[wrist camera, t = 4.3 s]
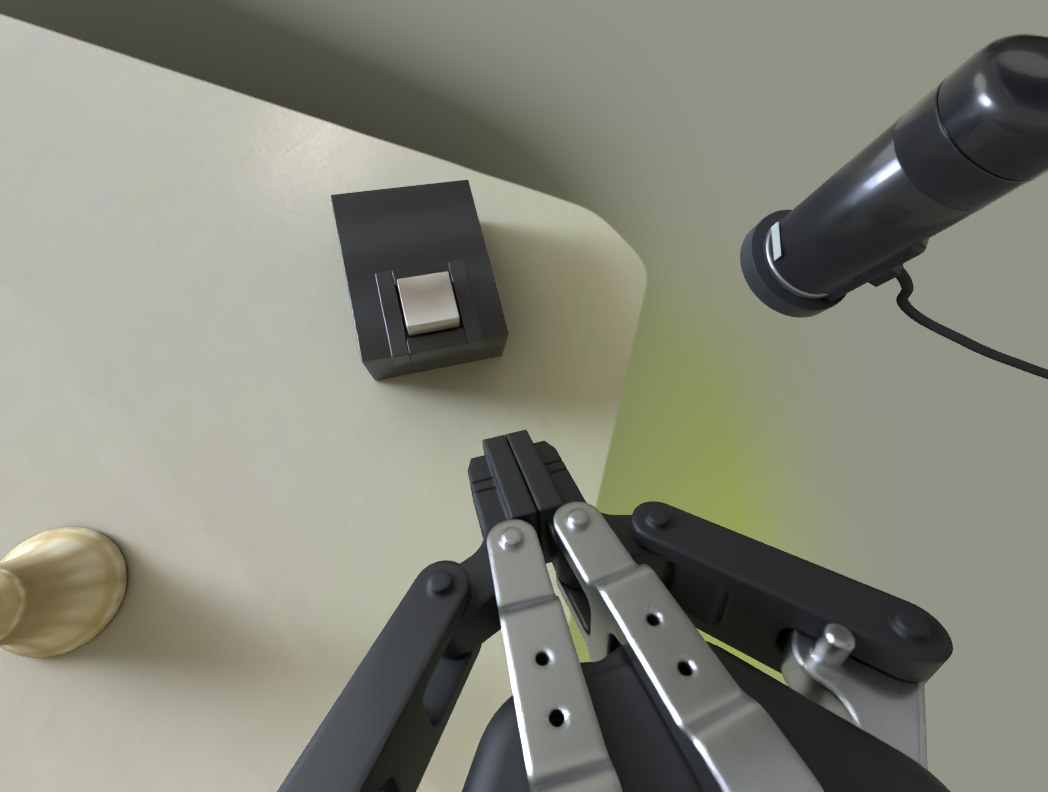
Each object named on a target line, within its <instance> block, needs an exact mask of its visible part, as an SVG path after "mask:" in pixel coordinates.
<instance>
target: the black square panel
mask: <svg viewBox="0 0 1048 792" xmlns="http://www.w3.org/2000/svg"><path fill="white" fill-rule="evenodd" d="M331 201H332V206H333V212H334V217H335V222H336V227H337V233H338V238H339V243H340V249H341V254H342V259H343V265H344V270H345V275H346V280H347V286H348V291H349V296H350V302H351V307H352V312H353V317H354V323H355V328H356V333H357V339H358V344H359V349H360V355H361V360H362V362H363V364H364V365H365V367H366V368H367V370H368V371H369V373H370V374H371V375H372V377H373V378H374V380H375V381H376V380H381V379H386V378H391V377H396V376H401V375H406V374H411V373H416V372H421V371H426V370H431V369H437V368H442V367H447V366H452V365H457V364H462V363H467V362H472V361H477V360H482V359H487V358H492V357H497V356H502V353H503V350H504V346H505V343H506V340H507V337H508V330H507V327H506V323H505V319H504V315H503V311H502V308H501V304H500V300H499V296H498V292H497V288H496V285H495V281H494V277H493V273H492V269H491V265H490V262H489V258H488V254H487V250H486V246H485V243H484V239H483V235H482V231H481V227H480V223H479V220H478V216H477V212H476V208H475V204H474V200H473V197H472V193H471V189H470V185H469V181H468V180H462V181H453V182H444V183H435V184H426V185H417V186H408V187H399V188H390V189H381V190H372V191H363V192H354V193H346V194H337V195H331ZM447 271H448V272H449V276H450V280H451V284H452V288H453V292H454V297H455V301H456V305H457V309H458V313H459V327H457V328H451V329H445V330H440V331H434V332H429V333H423V334H418V335H412V336H410V335H409V333H408V329H407V326H406V321H405V316H404V311H403V307H402V302H401V297H400V293H399V288H398V283H397V279H402V278H408V277H415V276H421V275H428V274H434V273H441V272H447Z"/></svg>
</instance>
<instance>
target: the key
mask: <svg viewBox="0 0 1048 792" xmlns="http://www.w3.org/2000/svg"><path fill="white" fill-rule="evenodd" d="M397 283H398V288H399V293H400V297H401V302H402V307H403V311H404V316H405V321H406V326H407V329H408V333H409V335H410V336H412V335H418V334H423V333H429V332H434V331H440V330H445V329H451V328H457V327H459V313H458V309H457V305H456V301H455V297H454V292H453V288H452V284H451V280H450V276H449V272H448V271H447V272H441V273H434V274H428V275H421V276H415V277H408V278H402V279H397Z"/></svg>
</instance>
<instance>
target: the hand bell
mask: <svg viewBox="0 0 1048 792" xmlns="http://www.w3.org/2000/svg"><path fill="white" fill-rule="evenodd" d="M126 570H127V569H126V564H125V561H124V558H123V556H122V554H121V551H120V550H119V548H118V547H117V546H116V545H115V544H114V542H113V541H111V540H110V539H109V538H108V537H106V536H105V535H103V534H102V533H100V532H97V531H95V530H92V529H88V528H82V527H62V528H56V529H52V530H48V531H45V532H43V533H40V534H38V535H36V536H34V537H32V538H30V539H28V540H26V541H25V542H23V543H22V544H20V545H19V546H17V547H16V548H15V549H13V550H12V551H11V552H10V553H9V554H7V556H6V557H5V558H4V559H3V560H2V561H1V562H0V647H2V648H3V649H4V650H6V651H9V652H11V653H14V654H16V655H21V656H26V657H33V658H43V657H52V656H57V655H61V654H64V653H67V652H69V651H72V650H74V649H76V648H78V647H80V646H82V645H84V644H85V643H87V642H89V641H90V640H91V639H93V638H94V637H95V636H96V635H98V634H99V633H100V632H101V631H102V630H103V629H104V628H105V627H106V626H107V624H108V623H109V622H110V621H111V619H112V618H113V617H114V615H115V614H116V612H117V611H118V609H119V607H120V604H121V602H122V600H123V598H124V595H125V590H126V584H127V574H126Z"/></svg>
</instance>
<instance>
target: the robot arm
mask: <svg viewBox="0 0 1048 792" xmlns="http://www.w3.org/2000/svg"><path fill="white" fill-rule="evenodd" d="M1047 172H1048V36H1042V35H1035V34H1016V35H1010V36H1005V37H1002V38H999V39H997V40H995V41H992V42H991V43H989V44H987V45H986V46H984V47H983V48H981V49H980V50H978V51H977V52H976V53H974V54H973V55H972V56H971V57H969V58H968V59H967V60H966V61H965V62H964V63H962V64H961V65H960V66H959V67H958V68H957V69H956V70H954V71H953V72H952V73H951V74H950V75H949V76H948V77H946V78H945V79H944V80H943V81H942V82H940V83H939V84H938V85H937V86H936V87H935V88H934V89H932V90H931V91H930V92H929V93H928V94H927V95H925V96H924V97H923V98H922V99H921V100H920V101H919V102H917V103H916V104H915V105H914V106H913V107H911V108H910V109H909V110H908V111H907V112H906V113H905V114H903V115H902V116H901V117H900V118H899V119H898V120H896V121H895V122H894V123H893V124H892V125H891V126H890V127H888V128H887V129H886V130H885V131H884V132H883V133H881V134H880V135H879V136H878V137H877V138H876V139H874V140H873V141H872V142H871V143H870V144H869V145H868V146H866V147H865V148H864V149H863V150H862V151H861V152H860V153H858V154H857V155H856V156H855V157H854V158H852V159H851V160H850V161H849V162H848V163H847V164H845V165H844V166H843V167H842V168H841V169H840V170H839V171H837V172H836V173H835V174H834V175H833V176H832V177H830V178H829V179H828V180H827V181H826V182H825V183H823V184H822V185H821V186H820V187H819V188H818V189H817V190H815V191H814V192H813V193H812V194H811V195H810V196H808V197H807V198H806V199H805V200H804V201H803V202H801V203H800V204H799V205H798V206H797V207H796V208H794V209H793V210H792V211H791V212H789V213H788V214H787V215H786V216H785V217H783V218H782V219H781V220H779V221H778V222H777V223H776V224H775V225H773V226H772V227H771V228H770V229H769V231H768V232H767V234H766V236H765V238H764V242H763V256H764V260H765V264H766V266H767V268H768V270H769V272H770V274H771V275H772V276H773V278H774V279H775V280H776V281H777V282H778V283H779V284H780V285H781V286H782V287H783V288H784V289H786V290H787V291H789V292H790V293H792V294H794V295H797V296H800V297H803V298H808V299H818V298H825V299H827V300H828V301H833V300H835V299H837V298H839V297H841V296H843V295H844V294H846V293H848V292H850V291H852V290H854V289H856V288H858V287H860V286H861V285H863V284H865V283H867V282H868V283H870V284H872V285H874V286H876V287H877V286H879V285H881V284H883V283H885V282H887V281H889V280H891V279H893V278H895V277H896V278H897V280H898V281H899V283H900V285H901V288H902V290H901V292H900V293H899V294H898V296H897V299H896V300H897V304H898V306H899V307H900V309H901V310H902V311H903V312H904V313H905V314H906V315H907V316H909V317H910V318H911V319H913V320H914V321H915V322H917V323H918V324H920V325H922V326H924V327H926V328H928V329H930V330H931V331H933V332H935V333H938V334H939V335H942V336H944V337H946V338H948V339H950V340H952V341H954V342H956V343H958V344H960V345H962V346H964V347H966V348H968V349H970V350H972V351H974V352H977V353H979V354H981V355H983V356H986V357H988V358H991V359H993V360H996V361H999V362H1002V363H1005V364H1007V365H1010V366H1013V367H1016V368H1018V369H1021V370H1023V371H1026V372H1029V373H1032V374H1034V375H1037V376H1041V377H1043V378H1046V379H1048V370H1047V369H1044V368H1041V367H1038V366H1036V365H1033V364H1030V363H1028V362H1025V361H1022V360H1020V359H1017V358H1014V357H1011V356H1009V355H1006V354H1003V353H1001V352H998V351H996V350H993V349H991V348H989V347H986V346H984V345H982V344H980V343H978V342H976V341H974V340H972V339H970V338H968V337H966V336H964V335H962V334H960V333H957V332H955V331H953V330H951V329H949V328H947V327H945V326H943V325H941V324H939V323H937V322H935V321H933V320H931V319H929V318H928V317H926V316H925V315H923V314H922V313H920V312H919V311H918V310H916V309H915V308H914V307H913V306H912V305H911V304H910V302H909V301H908V298H909V296H910V295H911V294H912V292H913V283H912V280H911V277H910V276H909V274H908V273H907V271H906V270H905V269H904V268H903V263H905V262H907V261H909V260H911V259H912V258H914V257H916V256H918V255H920V254H921V253H923V252H924V251H925V249H926V247H927V244H928V240H929V238H930V237H932V236H934V235H936V234H938V233H939V232H941V231H943V230H945V229H947V228H948V227H950V226H952V225H954V224H955V223H957V222H959V221H961V220H963V219H964V218H966V217H968V216H970V215H972V214H974V213H975V212H977V211H979V210H981V209H983V208H984V207H986V206H988V205H990V204H991V203H993V202H995V201H997V200H998V199H1000V198H1002V197H1004V196H1006V195H1008V194H1009V193H1011V192H1013V191H1015V190H1017V189H1018V188H1020V187H1022V186H1024V185H1026V184H1027V183H1029V182H1031V181H1033V180H1035V179H1036V178H1038V177H1040V176H1042V175H1044V174H1046V173H1047ZM483 449H484V456H480V457H476V458H472V459H471V461H470V464H469V468H468V475H469V480H470V486H471V491H472V496H473V502H474V506H475V509H476V513H477V517H478V521H479V524H480V528H481V532H482V536H483V542H482V545H481V546H480V548H479V549H478V550H477V552H476V553H475V554H473V555H472V556H471V557H469V558H468V559H466V560H465V561H463V562H462V563H460V564H459V563H456V562H454V561H446V560H445V561H439V562H435V563H433V564H431V565H429V566H427V567H426V568H425V569H424V570H423V571H422V572H421V573H420V574H419V575H418V576H417V578H416V580H415V581H414V583H413V584H412V586H411V587H410V589H409V590H408V592H407V593H406V595H405V596H404V598H403V599H402V601H401V602H400V604H399V606H398V607H397V609H396V610H395V612H394V613H393V615H392V616H391V618H390V619H389V621H388V622H387V624H386V625H385V627H384V629H383V630H382V632H381V633H380V635H379V636H378V638H377V639H376V641H375V642H374V644H373V645H372V647H371V648H370V650H369V651H368V653H367V655H366V656H365V658H364V659H363V661H362V662H361V664H360V665H359V667H358V668H357V670H356V671H355V673H354V674H353V676H352V677H351V679H350V681H349V682H348V684H347V685H346V687H345V688H344V690H343V691H342V693H341V694H340V696H339V697H338V699H337V700H336V702H335V703H334V705H333V707H332V708H331V710H330V711H329V713H328V714H327V716H326V717H325V719H324V720H323V722H322V723H321V725H320V726H319V728H318V730H317V731H316V733H315V734H314V736H313V737H312V739H311V740H310V742H309V743H308V745H307V746H306V748H305V749H304V751H303V752H302V754H301V756H300V757H299V759H298V760H297V762H296V763H295V765H294V766H293V768H292V769H291V771H290V772H289V774H288V775H287V777H286V778H285V780H284V782H283V783H282V785H281V786H280V788H279V789H278V791H277V792H416V790H417V788H418V786H419V784H420V782H421V779H422V777H423V775H424V773H425V771H426V768H427V766H428V764H429V762H430V759H431V757H432V755H433V753H434V751H435V748H436V746H437V744H438V742H439V740H440V737H441V735H442V733H443V731H444V729H445V726H446V724H447V722H448V720H449V717H450V715H451V713H452V711H453V709H454V706H455V704H456V702H457V700H458V698H459V695H460V693H461V691H462V689H463V687H464V684H465V682H466V680H467V678H468V676H469V673H470V671H471V669H472V667H473V664H474V662H475V660H476V658H477V656H478V653H479V651H480V648H481V645H482V643H483V642H484V641H486V640H487V639H488V638H490V637H491V636H492V635H493V634H495V633H496V632H497V631H499V630H500V629H501V628H502V634H503V640H504V646H505V651H506V657H507V663H508V668H509V674H510V680H511V686H512V691H513V695H512V696H511V697H510V698H509V699H508V700H507V701H506V702H505V703H504V704H503V705H502V706H501V707H500V708H499V709H498V711H497V712H496V713H495V714H494V716H493V717H492V719H491V720H490V722H489V724H488V725H487V727H486V729H485V731H484V733H483V735H482V737H481V740H480V742H479V745H478V748H477V751H476V753H475V756H474V759H473V762H472V765H471V768H470V770H469V773H468V776H467V779H466V782H465V784H464V787H463V790H462V792H950V791H949V790H948V789H947V788H946V786H944V785H943V783H941V782H940V781H939V780H938V779H937V778H936V777H935V776H934V775H933V774H931V773H930V772H929V771H928V766H927V742H926V718H925V717H926V716H925V691H924V685H925V683H926V682H927V681H928V680H929V679H930V678H931V677H932V676H933V674H935V672H936V671H937V670H938V669H939V668H940V667H941V666H942V665H943V664H944V663H945V662H946V661H947V659H948V658H949V657H950V656H951V654H952V651H953V645H952V641H951V638H950V636H949V634H948V633H947V631H946V630H945V628H944V627H943V626H942V625H941V624H940V623H939V622H938V621H937V620H936V619H935V618H934V617H933V616H932V615H930V614H929V613H928V612H926V611H925V610H923V609H922V608H920V607H918V606H917V605H915V604H912V603H910V602H908V601H905V600H903V599H900V598H898V597H895V596H893V595H890V594H888V593H885V592H883V591H881V590H878V589H875V588H873V587H870V586H868V585H866V584H863V583H861V582H858V581H856V580H853V579H851V578H848V577H846V576H843V575H841V574H838V573H836V572H834V571H831V570H829V569H826V568H824V567H821V566H819V565H816V564H814V563H811V562H809V561H806V560H804V559H801V558H799V557H796V556H794V555H791V554H789V553H787V552H784V551H782V550H779V549H776V548H774V547H772V546H769V545H766V544H764V543H762V542H759V541H757V540H754V539H752V538H749V537H747V536H744V535H742V534H739V533H737V532H735V531H732V530H730V529H727V528H725V527H722V526H720V525H717V524H715V523H712V522H710V521H707V520H704V519H702V518H700V517H697V516H694V515H692V514H690V513H687V512H685V511H683V510H680V509H677V508H675V507H673V506H670V505H668V504H665V503H662V502H645V503H642V504H640V505H639V506H638V507H636V508H635V510H634V512H633V515H608V514H604V513H601V512H599V511H598V510H597V509H596V508H595V507H594V506H592V505H590V504H588V503H586V501H585V500H584V498H583V496H582V494H581V493H580V491H579V489H578V487H577V486H576V484H575V482H574V480H573V479H572V477H571V475H570V473H569V472H568V470H567V469H566V466H565V465H564V463H563V461H562V460H561V457H560V456H559V454H558V452H557V450H556V449H555V448H554V447H553V446H551V445H550V444H548V443H547V442H545V441H541V442H537V443H533V442H532V440H531V438H530V436H529V434H528V432H527V430H523V431H518V432H514V433H510V434H506V435H505V436H504V435H502V436H498V437H494V438H489V439H485V440H483ZM550 562H552V564H553V566H554V568H555V571H556V581H557V585H558V588H559V590H560V592H561V594H562V596H563V598H564V600H565V602H566V604H567V606H568V608H569V610H570V612H571V614H572V616H573V618H574V620H575V622H576V624H577V626H578V628H579V630H580V632H581V634H582V636H583V638H584V640H585V642H586V645H587V647H588V651H589V655H590V659H591V662H584V663H580V662H579V659H578V656H577V653H576V649H575V646H574V643H573V640H572V636H571V633H570V630H569V626H568V623H567V620H566V617H565V614H564V610H563V607H562V604H561V601H560V599H559V597H558V596H556V595H555V593H554V590H553V587H552V583H551V580H550V577H549V573H548V570H547V567H546V563H550ZM695 627H696V628H698V629H699V630H701V631H703V632H705V633H707V634H709V635H711V636H712V637H714V638H716V639H718V640H720V641H722V642H724V643H726V644H727V645H729V646H731V647H733V648H735V649H737V650H738V651H740V652H742V653H744V654H746V655H748V656H750V657H752V658H753V659H755V660H757V661H759V662H761V663H763V664H765V665H767V666H768V667H770V668H772V669H774V670H776V671H778V672H780V673H781V674H782V675H783V677H784V680H785V682H786V683H787V685H788V686H789V687H788V686H786V685H784V684H783V683H781V682H779V681H778V680H776V679H774V678H773V677H771V676H769V675H767V674H766V673H764V672H762V671H760V670H759V669H757V668H755V667H754V666H752V665H750V664H748V663H747V662H745V661H743V660H742V659H740V658H738V657H736V656H735V655H733V654H731V653H729V652H728V651H726V650H724V649H722V648H721V647H719V646H717V645H714V644H712V643H710V642H707V641H705V640H704V639H703V637H702V636H701V634H700V633H699V632H698V630H697V629H696V628H695Z"/></svg>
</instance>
